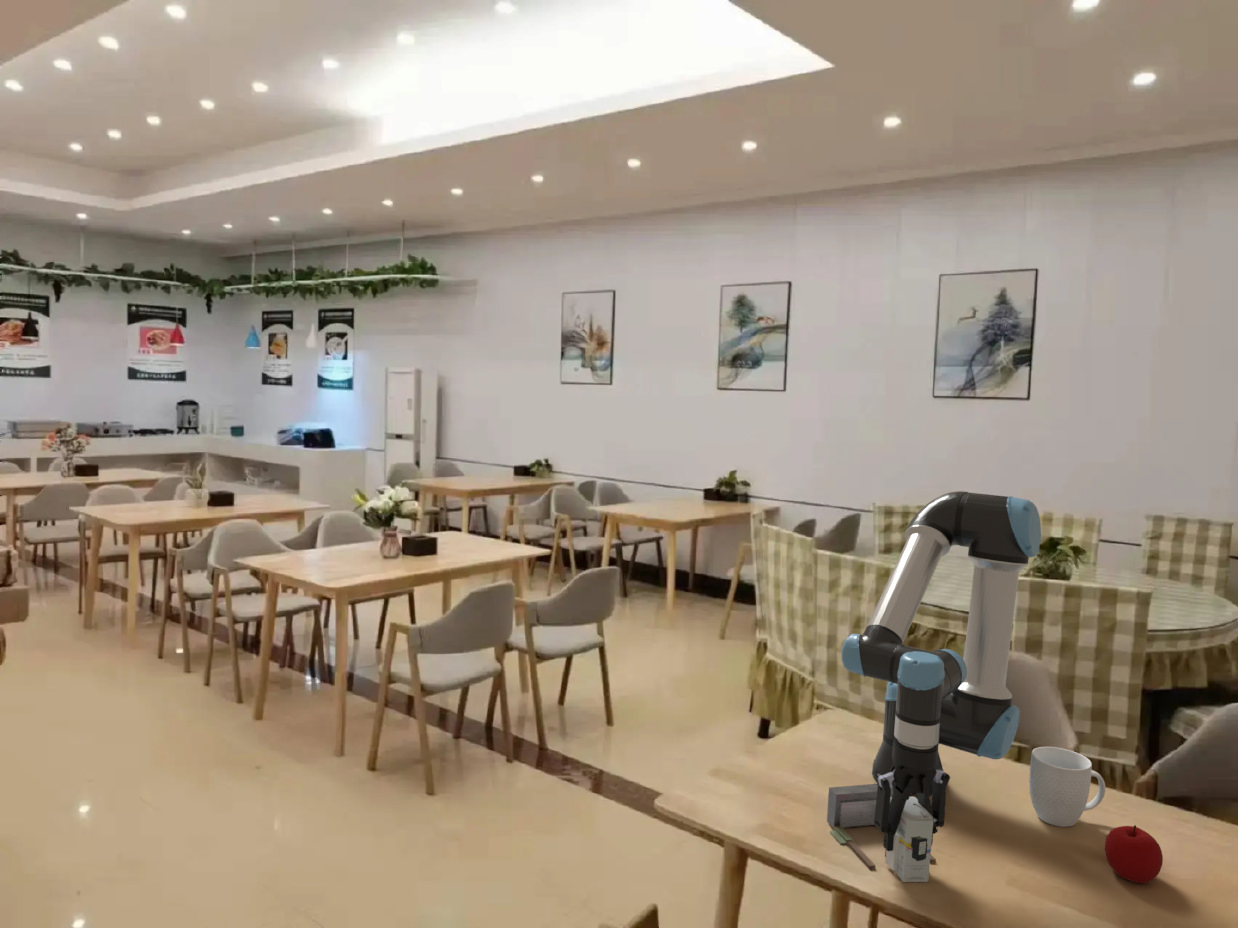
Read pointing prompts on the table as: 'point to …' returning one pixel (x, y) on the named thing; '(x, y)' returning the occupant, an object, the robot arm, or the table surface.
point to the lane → (846, 839)
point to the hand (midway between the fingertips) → (906, 864)
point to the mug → (1061, 785)
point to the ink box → (914, 842)
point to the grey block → (852, 805)
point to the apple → (1133, 854)
